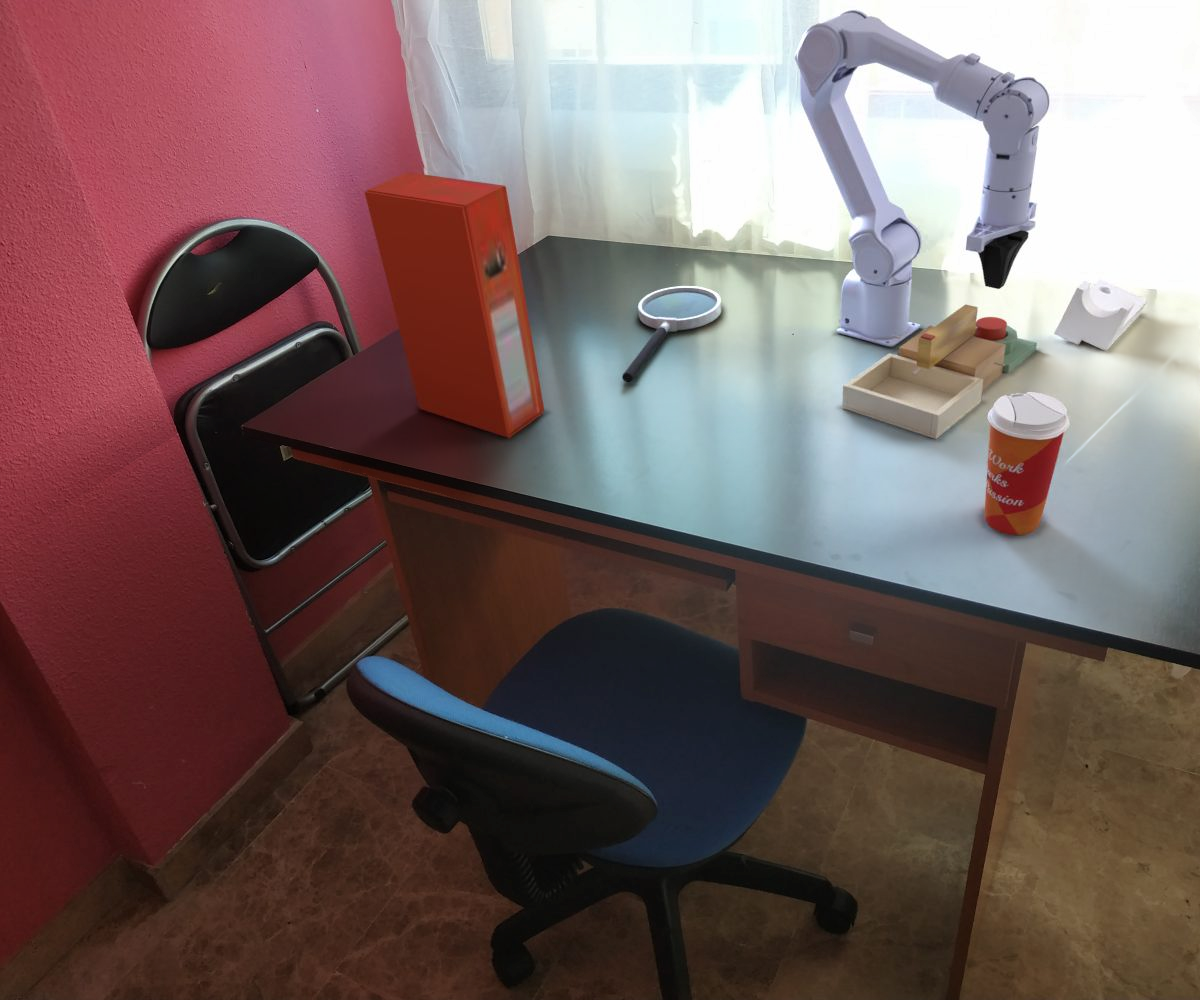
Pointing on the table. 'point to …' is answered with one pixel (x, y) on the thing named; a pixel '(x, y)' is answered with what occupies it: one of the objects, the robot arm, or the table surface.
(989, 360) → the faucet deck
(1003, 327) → the tap button
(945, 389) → the wooden tray
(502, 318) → the file binder
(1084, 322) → the bracket
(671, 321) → the magnifying glass
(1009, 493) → the paper cup
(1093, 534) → the table surface
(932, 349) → the golden tan long bar
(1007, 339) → the tap control
